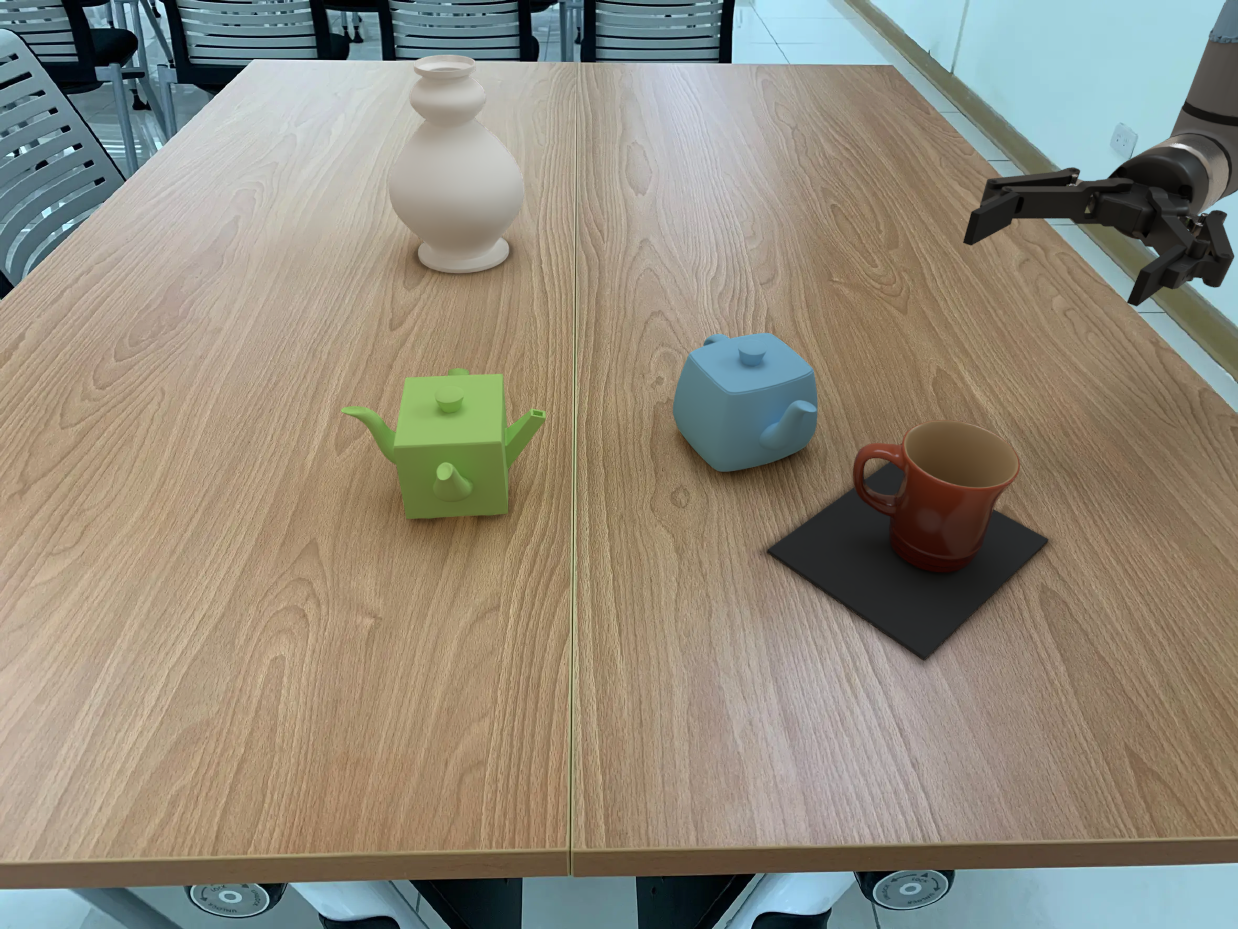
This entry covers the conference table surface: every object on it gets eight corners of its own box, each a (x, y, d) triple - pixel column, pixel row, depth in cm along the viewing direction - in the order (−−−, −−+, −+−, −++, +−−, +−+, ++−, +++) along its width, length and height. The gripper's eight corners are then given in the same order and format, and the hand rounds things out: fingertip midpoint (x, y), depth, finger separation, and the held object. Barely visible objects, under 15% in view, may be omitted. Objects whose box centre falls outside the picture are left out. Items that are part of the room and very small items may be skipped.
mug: (981, 523, 81) (1016, 429, 74) (986, 595, 74) (1025, 498, 67) (842, 498, 84) (863, 405, 77) (834, 566, 77) (856, 469, 70)
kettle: (456, 568, 76) (441, 467, 69) (350, 501, 83) (326, 403, 76) (569, 481, 86) (565, 384, 79) (465, 426, 92) (453, 333, 85)
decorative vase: (439, 295, 114) (414, 93, 99) (376, 247, 125) (344, 58, 109) (552, 258, 123) (546, 68, 107) (484, 216, 134) (470, 37, 118)
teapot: (742, 521, 82) (756, 420, 74) (652, 416, 94) (657, 321, 87) (851, 484, 86) (874, 386, 79) (751, 389, 98) (764, 297, 91)
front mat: (1047, 542, 80) (1048, 539, 80) (924, 660, 69) (925, 657, 69) (896, 459, 89) (897, 456, 89) (766, 552, 78) (767, 549, 78)
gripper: (1295, 274, 75) (1197, 363, 64) (1021, 188, 89) (902, 248, 78) (1342, 188, 70) (1245, 268, 59) (1045, 111, 85) (921, 164, 73)
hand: (1049, 257), depth 69 cm, fingers open, 13 cm apart
